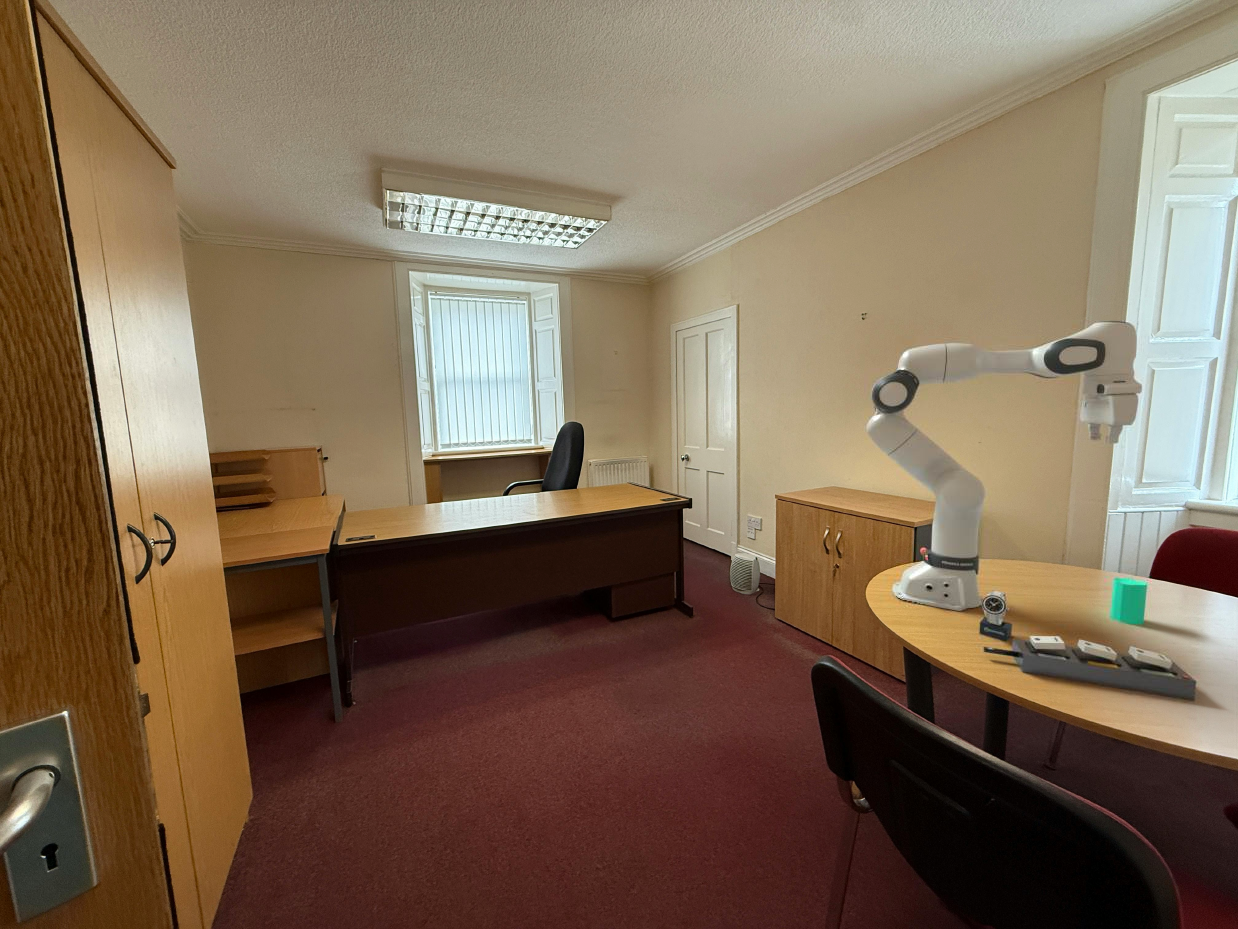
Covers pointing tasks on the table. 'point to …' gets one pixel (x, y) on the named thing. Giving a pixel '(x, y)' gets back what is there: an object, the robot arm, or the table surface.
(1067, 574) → the table surface
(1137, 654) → the rocker
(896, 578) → the table surface
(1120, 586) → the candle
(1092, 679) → the strip
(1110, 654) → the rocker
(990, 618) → the watch
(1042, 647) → the plate
